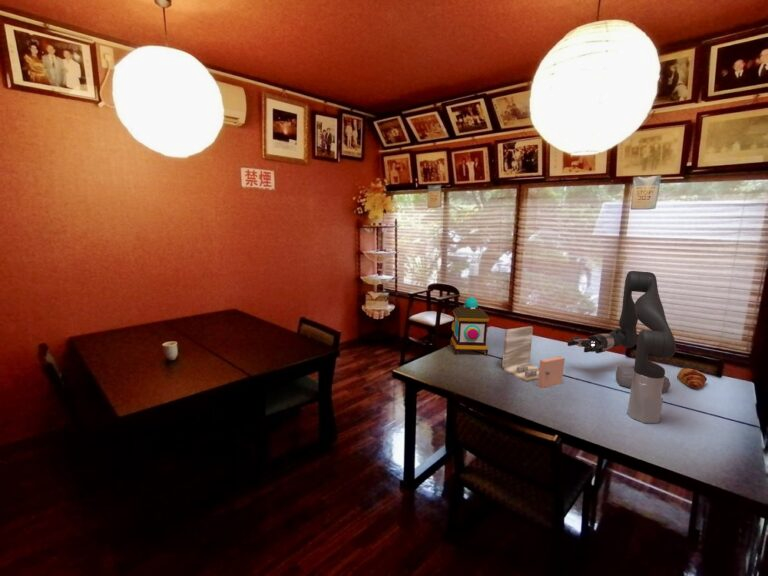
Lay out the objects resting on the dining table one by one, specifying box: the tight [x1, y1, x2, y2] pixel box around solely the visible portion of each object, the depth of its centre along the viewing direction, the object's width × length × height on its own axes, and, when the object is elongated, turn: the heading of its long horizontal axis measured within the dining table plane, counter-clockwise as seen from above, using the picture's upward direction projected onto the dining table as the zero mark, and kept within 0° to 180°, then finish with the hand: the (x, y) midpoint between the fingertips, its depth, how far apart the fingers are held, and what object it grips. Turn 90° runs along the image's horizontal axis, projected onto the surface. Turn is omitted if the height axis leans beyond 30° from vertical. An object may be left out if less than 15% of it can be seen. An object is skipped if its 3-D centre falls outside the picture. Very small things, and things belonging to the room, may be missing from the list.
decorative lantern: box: [450, 296, 491, 356], centre depth 204 cm, size 20×20×30 cm
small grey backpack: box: [615, 365, 671, 394], centre depth 165 cm, size 15×8×20 cm
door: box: [537, 356, 566, 389], centre depth 163 cm, size 3×12×12 cm, turn 114°
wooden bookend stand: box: [501, 326, 539, 383], centre depth 175 cm, size 16×16×20 cm
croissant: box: [676, 367, 708, 389], centre depth 170 cm, size 21×10×8 cm, turn 151°
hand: (576, 346), depth 168 cm, fingers open, 8 cm apart
